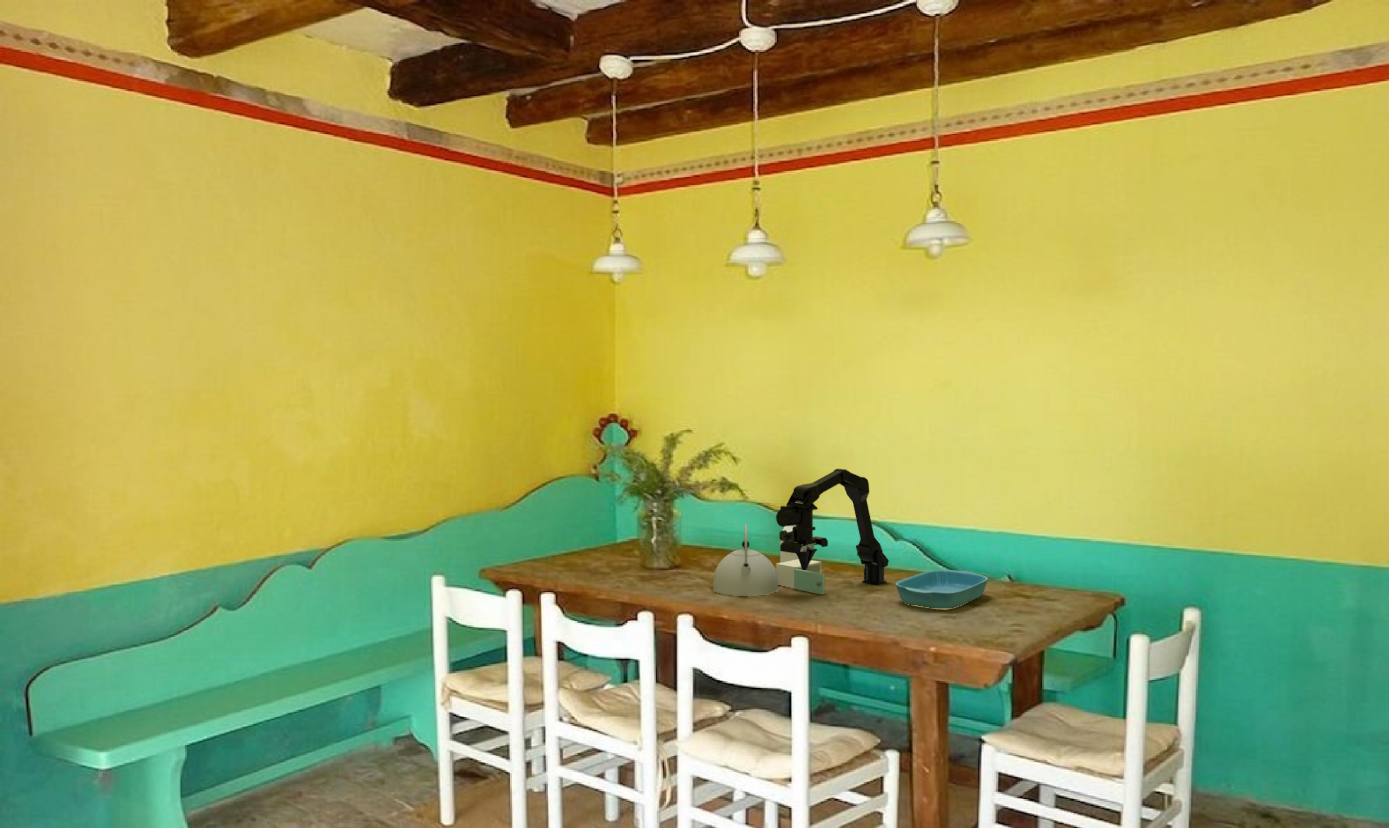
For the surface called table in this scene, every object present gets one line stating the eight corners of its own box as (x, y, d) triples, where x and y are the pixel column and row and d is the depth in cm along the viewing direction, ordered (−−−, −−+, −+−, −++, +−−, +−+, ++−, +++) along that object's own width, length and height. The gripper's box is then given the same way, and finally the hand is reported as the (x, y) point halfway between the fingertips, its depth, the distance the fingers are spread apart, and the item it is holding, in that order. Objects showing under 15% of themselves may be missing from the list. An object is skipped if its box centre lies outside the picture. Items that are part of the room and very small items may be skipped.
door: (791, 589, 343) (791, 569, 342) (796, 588, 344) (796, 568, 344) (820, 594, 334) (820, 574, 334) (824, 593, 336) (824, 573, 335)
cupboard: (821, 583, 355) (821, 561, 354) (795, 589, 345) (795, 567, 344) (801, 579, 361) (801, 558, 361) (775, 585, 351) (775, 563, 351)
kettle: (780, 599, 331) (780, 531, 330) (712, 598, 332) (711, 531, 331) (777, 583, 356) (777, 520, 355) (713, 582, 357) (713, 520, 356)
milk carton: (796, 576, 366) (796, 525, 365) (780, 574, 370) (780, 523, 369) (806, 573, 371) (806, 523, 370) (790, 571, 375) (790, 521, 375)
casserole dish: (949, 616, 306) (949, 593, 306) (884, 606, 321) (884, 584, 320) (997, 596, 335) (997, 574, 334) (936, 587, 349) (936, 566, 349)
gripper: (803, 518, 345) (803, 563, 346) (767, 524, 332) (767, 570, 333) (828, 521, 337) (828, 567, 338) (793, 528, 324) (793, 575, 325)
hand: (804, 570), depth 334 cm, fingers closed
